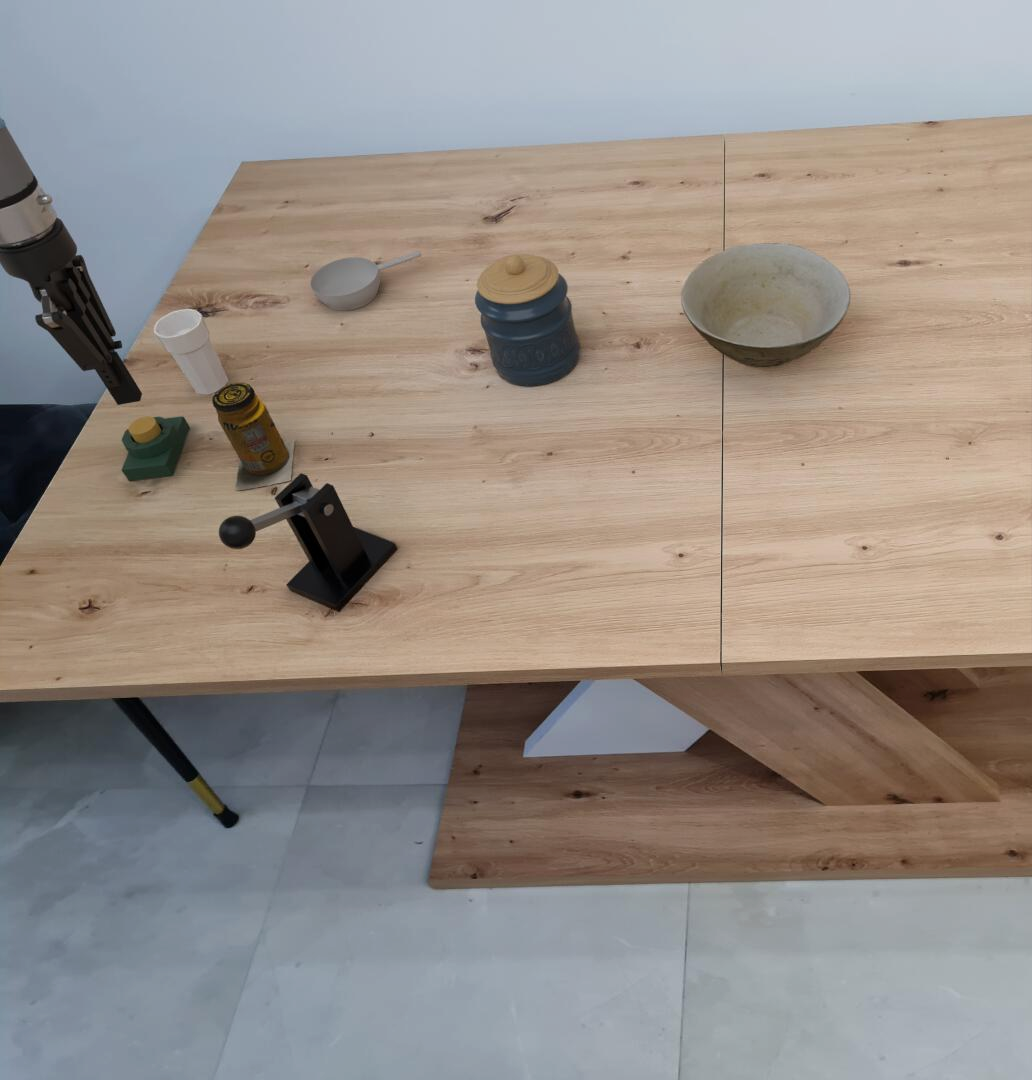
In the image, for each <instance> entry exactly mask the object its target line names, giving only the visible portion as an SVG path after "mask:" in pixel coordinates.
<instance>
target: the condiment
mask: <svg viewBox="0 0 1032 1080" xmlns="http://www.w3.org/2000/svg"><path fill="white" fill-rule="evenodd" d="M212 407H213V408H215V411H216V414H217V420H218V422H219V425H220V427H221V428H222V430H223V432H224V434H225V436H226V437H227V440H228V441H229V443H230V445H231V446H232V448H233V450H234V452H235V454H236V455H237V458H238V459H239V464H238V469H237V475H236V484H235V487H234V488H235V489H234V490H235V491H244V490H250V489H256V488H257V489H258V488H261V487H269V486H271V485H275V484H282V483H285V482H292V473H293V471H292V469H293V461H294V450H295V439H289V440H285V441H284V439H283V438H282V436H281V434H280V432H279V430H278V428H277V426H276V424H275V422H274V420H273V418H272V417H271V414H270V412H269V410H268V408H267V406H266V404H265V403H264V402H263V400H262V399H260V398H259V396H258V395H257V393H256V392H255V390H254V388H253V387H252V386H251V385H250V384H249V383H246V382H232V383H228V384H226V385H225V386H224V387H222V388H221V389H220V390H218V391H216V392H214V394H213V396H212Z"/></svg>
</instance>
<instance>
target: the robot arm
mask: <svg viewBox="0 0 1032 1080" xmlns="http://www.w3.org/2000/svg"><path fill="white" fill-rule="evenodd" d="M6 125H7V124H6V122H5V120H4V119H2V117H1V116H0V266H1V267H2V269H3V270H4V271H5V273H6V274H8V275H9V276H11V277H13V278H16V279H20V280H22V281H24V282H26V283H28V285H29V287H30V289H31V291H32V294H33V296H34V298H35V300H37V302H39V303H40V304H41V310H42V313H40V314H35V316H34V319H35V322H36V324H37V325H38V326H39V327H40V328H42V329H44V330H45V331H47V332H48V334H49V335H51V337H53V339H54V340H55V341H56V342H57V343H58V344H59V346H60V347H61V348H62V349H63V351H65V353H66V354H67V355H68V356H69V357H70V358H71V359H72V361H73V362H75V364H76V365H77V366H78V368H80V370H81V371H83V372H87V371H93V370H94V371H95V372H96V374H97V375H98V377H99V378H100V380H101V381H102V383H103V385H104V386H105V388H106V389H107V390H108V392H109V394H110V395H111V397H112V398H113V400H114V402H115V404H116V405H117V406H121V405H127V404H130V403H131V404H132V403H137V402H141V400H142V396H143V392H142V391H141V389H140V387H139V386H138V384H137V383H136V381H135V379H134V378H133V376H132V374H131V373H130V370H128V368H127V366H126V364H125V363H124V361H123V360H122V358H121V357H120V355H119V353H118V352H117V351H116V350H119V349H122V348H123V342H122V340H114V339H113V337H116V335H117V332H116V330H115V327H114V325H113V322H112V321H111V319H110V316H109V314H108V311H107V310H106V308H105V306H104V304H103V302H102V300H101V297H100V295H99V293H98V291H97V289H96V287H95V285H94V283H93V280H92V279H91V276H90V274H89V271H88V268H87V264H86V261H85V258H84V256H83V255H82V254H77V253H78V247H77V244H76V242H75V240H74V238H73V237H72V235H71V233H70V231H69V230H68V228H67V227H66V225H65V224H64V222H63V220H62V219H61V218H58V217H57V216H58V213H57V211H56V210H55V207H54V206H53V204H52V203H53V197H52V196H51V195H50V194H49V193H46V192H45V191H44V189H43V187H42V186H41V184H40V183H39V181H38V179H37V178H36V175H35V174H34V172H33V171H32V168H31V167H30V165H29V164H28V162H27V160H26V159H25V156H24V155H23V153H22V152H21V149H19V148H20V147H19V146H18V145H17V143H16V141H15V140H14V138H13V136H12V134H11V132H10V131H9V129H8V127H7V126H6Z"/></svg>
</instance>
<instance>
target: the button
mask: <svg viewBox="0 0 1032 1080" xmlns="http://www.w3.org/2000/svg"><path fill="white" fill-rule="evenodd" d="M153 417H154V416H143V417H142V416H141V417H139V418H137V419H135V420H133V421H132V422H131V423H130V424H129V426H128V428H129V432H130V434H131V435H132V437H133V438H134V440H135V441H136V442H137V443H146V442H149V441H151V440H154V439H155V438H157V437H158V436H159V435H160V434H161V428H160V426H159V425H158V423H157V422H156V420H155V419H154V418H153Z"/></svg>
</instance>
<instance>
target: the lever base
mask: <svg viewBox="0 0 1032 1080" xmlns="http://www.w3.org/2000/svg"><path fill="white" fill-rule="evenodd" d="M309 487H313V488H314V486H313V484H312V481H311V480H310V478H309V476H308V475H307V474H304V473H302V472H301V473H299V474H298V475H297V476H296V477H295V478H294V479H293V480H291V481H290V483H289V484H287V486H285V487H284V488H283V489H282V490H281V491H280V492H278V494H277V495H276V496H274V501H275V502H276V504H277V506H278V507H279V508H281V507H283V506H286V505H288V504H291V503H293V494H294V493H297V492H299V491H302V490H304V489H307V488H309ZM318 490H319V491H318V492H317V493H316V494H315V495H314V496H313V497H312V498H311V499H310V500H309V501H308V502H307V503H305V504H304V505H303V506H302V507H301V510H302V512H303V514H304V516H305V517H303V516H300V515H298V514H297V515H294V516H292V517H290V518H287V519H285V520H286V522H287V523H288V526H289V527H290V529H291V530H292V532H293V534H294V536H295V538H296V540H297V541H298V544H299V545H300V547H301V549H302V550H303V552H304V554H305V556H306V558H307V559H308V562H307V563H306V564H305V565H304V566H303V567H301V569H300V570H299V571H298V572H297V573H296V574H295V575H294V576H293V577H292V578H291V579H290V580H289V581H288V582H287V583H286V585H285V586H286V587H287V589H288V591H290V592H292V593H295V594H296V595H299V596H301V597H303V598H306V599H308V600H311V601H312V602H315V603H317V604H319V605H322V606H324V607H327V608H329V609H330V610H333V611H336V612H339V613H340V612H341V610H342V609H344V607H345V606H346V605H348V603H349V602H350V601H351V600H352V599H353V598H354V597H355V596H356V595H357V593H358V592H359V591H360V590H361V589H362V588H363V587H364V586H365V585H366V584H367V583H368V582H369V581H370V579H371V578H372V577H373V576H374V575H375V574H376V573H377V572H378V571H379V570H380V569H381V567H383V566H384V564H385V563H386V562H387V561H388V560H389V559H390V558H391V557H392V556H393V554H395V552H397V550H398V546H397V545H396V543H395V542H393V541H391V540H388V539H386V538H384V537H380V536H378V535H376V534H373V533H371V532H368V531H366V530H363V529H360V528H358V527H356V526H354V525H353V523H352V520H351V519H350V517H349V515H348V512H347V510H346V509H345V507H344V505H343V503H342V501H341V499H340V497H339V495H338V492H337V490H336V488H335V486H334V485H333V484H331V483H329V482H326V483H325V484H324V485H323V486H322V487H321V488H320V489H318Z"/></svg>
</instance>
